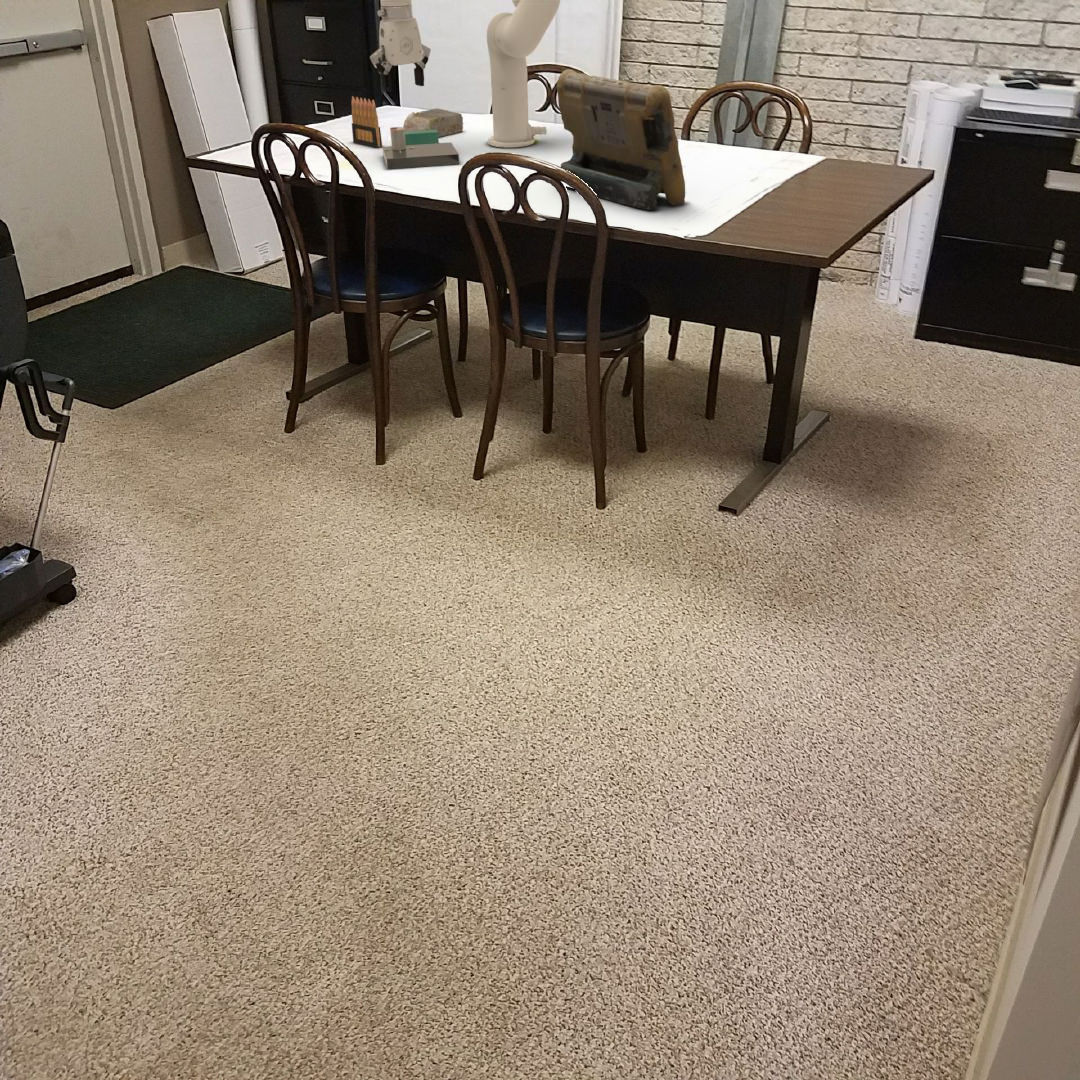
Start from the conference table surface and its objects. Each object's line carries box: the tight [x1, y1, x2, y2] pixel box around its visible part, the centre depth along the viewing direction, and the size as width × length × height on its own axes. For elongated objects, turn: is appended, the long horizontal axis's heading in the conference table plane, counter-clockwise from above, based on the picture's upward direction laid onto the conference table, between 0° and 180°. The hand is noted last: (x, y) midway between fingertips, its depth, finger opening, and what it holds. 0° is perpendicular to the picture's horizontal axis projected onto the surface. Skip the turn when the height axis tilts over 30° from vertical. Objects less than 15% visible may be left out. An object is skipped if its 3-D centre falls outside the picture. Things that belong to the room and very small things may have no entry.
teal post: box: [405, 130, 440, 145], centre depth 284 cm, size 4×12×4 cm, turn 102°
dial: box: [389, 126, 406, 151], centre depth 270 cm, size 4×4×5 cm
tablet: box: [556, 68, 686, 212], centre depth 232 cm, size 33×14×25 cm, turn 44°
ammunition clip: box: [351, 95, 383, 149], centre depth 285 cm, size 11×2×12 cm, turn 45°
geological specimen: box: [402, 108, 464, 138], centre depth 298 cm, size 11×6×15 cm
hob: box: [381, 141, 460, 170], centre depth 271 cm, size 18×14×3 cm
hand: (403, 88), depth 269 cm, fingers open, 9 cm apart
